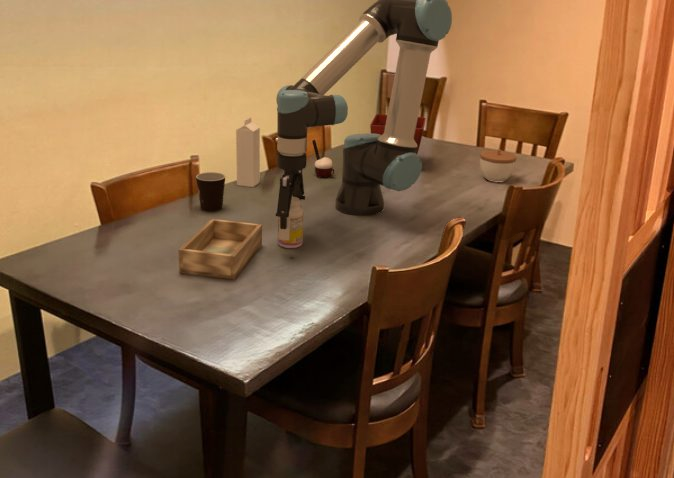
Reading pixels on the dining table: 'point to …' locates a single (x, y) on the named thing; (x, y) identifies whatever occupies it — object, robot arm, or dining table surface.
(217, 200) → the coffee mug
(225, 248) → the walled box
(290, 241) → the supplement bottle
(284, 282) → the dining table surface
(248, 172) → the milk
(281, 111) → the robot arm
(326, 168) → the cocoa
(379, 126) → the plant pot
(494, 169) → the lidded bowl
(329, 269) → the dining table surface
